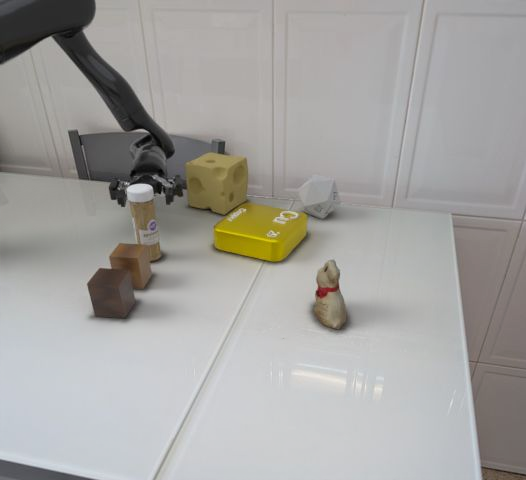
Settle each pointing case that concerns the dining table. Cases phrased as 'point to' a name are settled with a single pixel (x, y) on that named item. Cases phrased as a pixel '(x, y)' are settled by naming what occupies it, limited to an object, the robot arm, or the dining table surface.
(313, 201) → the die
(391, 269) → the dining table surface
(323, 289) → the chocolate bunny
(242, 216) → the element tile
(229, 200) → the cheese
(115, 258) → the oak block
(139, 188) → the sprinkles bottle
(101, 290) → the walnut block
